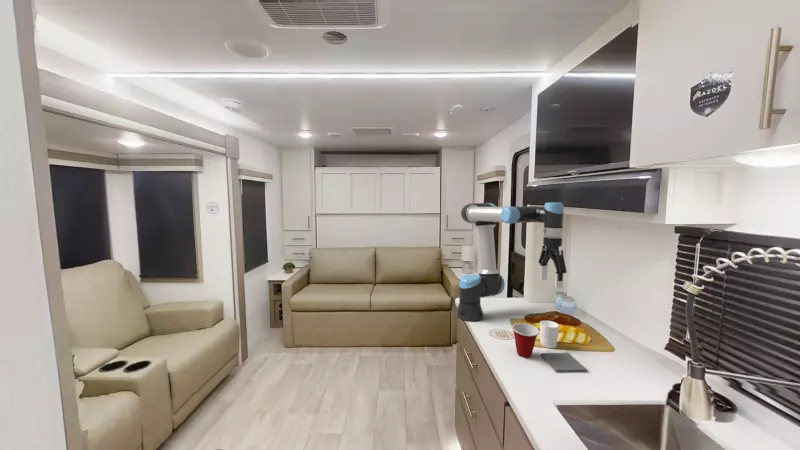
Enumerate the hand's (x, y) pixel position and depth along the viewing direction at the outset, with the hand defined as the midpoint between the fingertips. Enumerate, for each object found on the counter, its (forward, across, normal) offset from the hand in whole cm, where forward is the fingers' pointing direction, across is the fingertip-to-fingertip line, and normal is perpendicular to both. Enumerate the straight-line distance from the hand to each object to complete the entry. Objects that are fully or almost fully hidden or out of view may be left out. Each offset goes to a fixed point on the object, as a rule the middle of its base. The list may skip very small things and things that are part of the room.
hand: (550, 283), depth 141 cm
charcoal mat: (+29, +16, -2) cm, 33 cm away
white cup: (+29, 0, 0) cm, 29 cm away
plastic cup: (+29, +9, -15) cm, 34 cm away
